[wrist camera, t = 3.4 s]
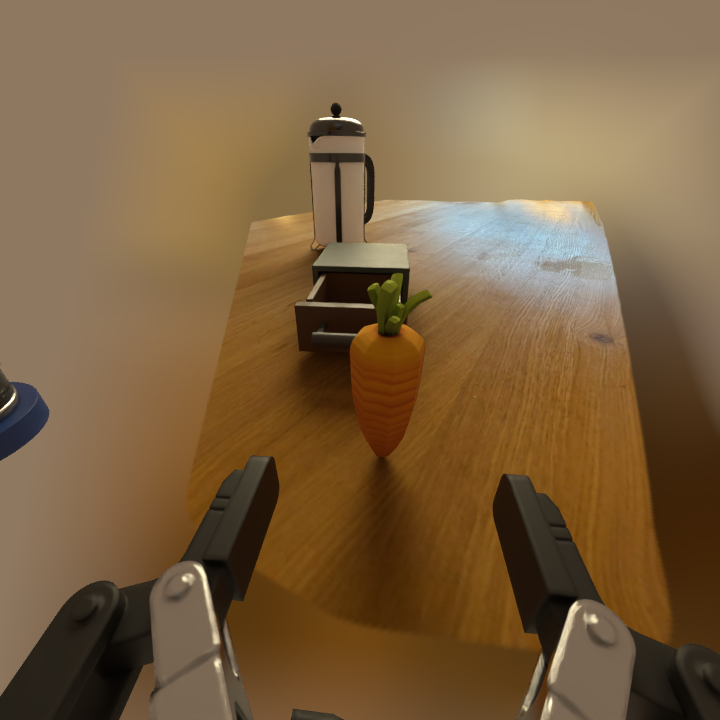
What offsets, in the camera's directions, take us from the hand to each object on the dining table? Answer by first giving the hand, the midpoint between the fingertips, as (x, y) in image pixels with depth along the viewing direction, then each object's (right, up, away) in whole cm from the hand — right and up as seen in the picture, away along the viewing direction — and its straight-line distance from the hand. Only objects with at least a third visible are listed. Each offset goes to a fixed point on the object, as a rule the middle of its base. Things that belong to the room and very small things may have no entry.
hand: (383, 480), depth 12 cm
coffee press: (-5, +33, +75) cm, 82 cm away
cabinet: (0, +15, +44) cm, 46 cm away
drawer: (-2, +7, +31) cm, 32 cm away
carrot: (+1, -4, +15) cm, 16 cm away
